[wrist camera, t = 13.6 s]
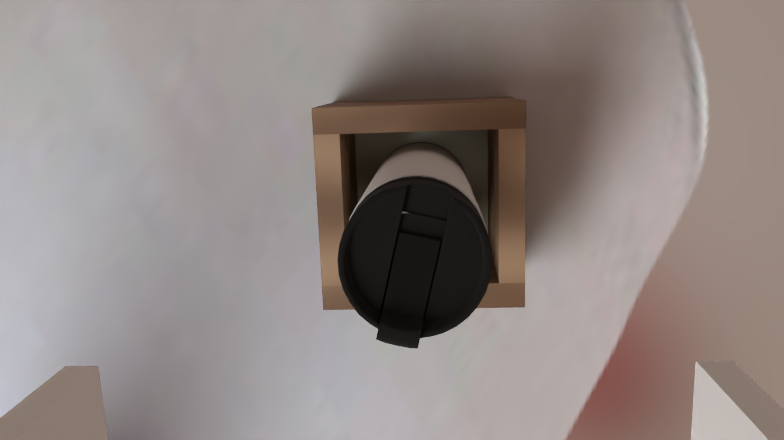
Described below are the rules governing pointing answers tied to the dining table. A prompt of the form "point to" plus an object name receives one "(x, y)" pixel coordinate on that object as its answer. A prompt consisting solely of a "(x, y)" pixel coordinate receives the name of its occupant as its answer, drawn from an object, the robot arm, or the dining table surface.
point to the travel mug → (416, 247)
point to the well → (441, 127)
